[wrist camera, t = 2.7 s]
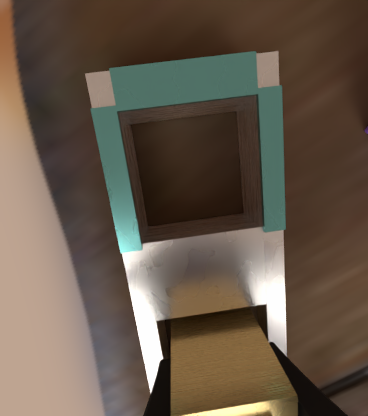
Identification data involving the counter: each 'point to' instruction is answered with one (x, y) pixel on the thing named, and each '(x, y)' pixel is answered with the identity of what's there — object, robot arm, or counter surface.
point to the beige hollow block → (226, 368)
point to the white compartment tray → (202, 228)
